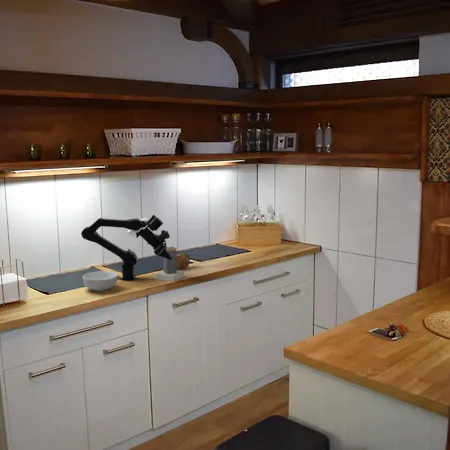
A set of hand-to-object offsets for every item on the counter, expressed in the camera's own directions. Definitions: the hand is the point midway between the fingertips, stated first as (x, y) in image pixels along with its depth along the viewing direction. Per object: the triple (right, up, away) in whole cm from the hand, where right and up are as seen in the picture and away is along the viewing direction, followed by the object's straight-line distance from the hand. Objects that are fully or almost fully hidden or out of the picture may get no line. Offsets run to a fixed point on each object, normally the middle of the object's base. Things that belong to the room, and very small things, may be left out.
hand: (171, 257), depth 290 cm
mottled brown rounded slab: (+3, -8, +21) cm, 23 cm away
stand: (-1, -11, +2) cm, 11 cm away
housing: (-1, -8, +1) cm, 8 cm away
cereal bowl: (-33, -15, -18) cm, 41 cm away
